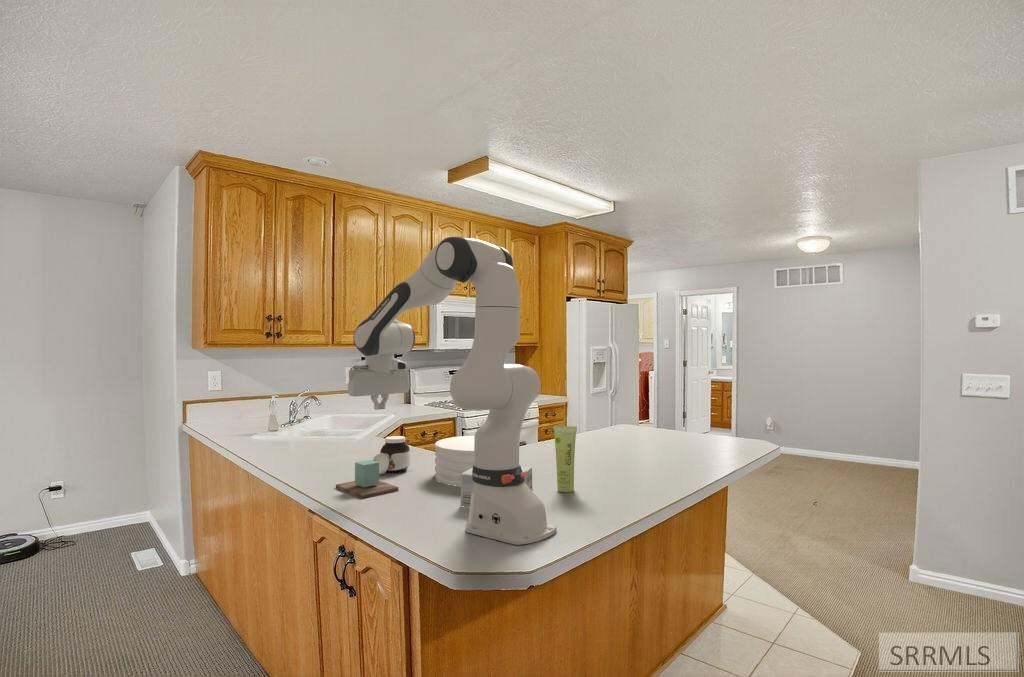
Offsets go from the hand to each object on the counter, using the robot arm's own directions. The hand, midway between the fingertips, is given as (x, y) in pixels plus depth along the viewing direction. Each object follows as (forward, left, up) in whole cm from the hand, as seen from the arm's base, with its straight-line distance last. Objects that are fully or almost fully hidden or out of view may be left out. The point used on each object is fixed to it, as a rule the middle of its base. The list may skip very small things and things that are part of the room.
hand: (379, 409), depth 162 cm
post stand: (0, +5, -24) cm, 24 cm away
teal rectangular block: (0, +5, -22) cm, 23 cm away
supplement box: (-38, -14, -24) cm, 48 cm away
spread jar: (+14, -12, -24) cm, 30 cm away
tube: (-44, -37, -24) cm, 62 cm away
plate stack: (-12, -30, -24) cm, 40 cm away
